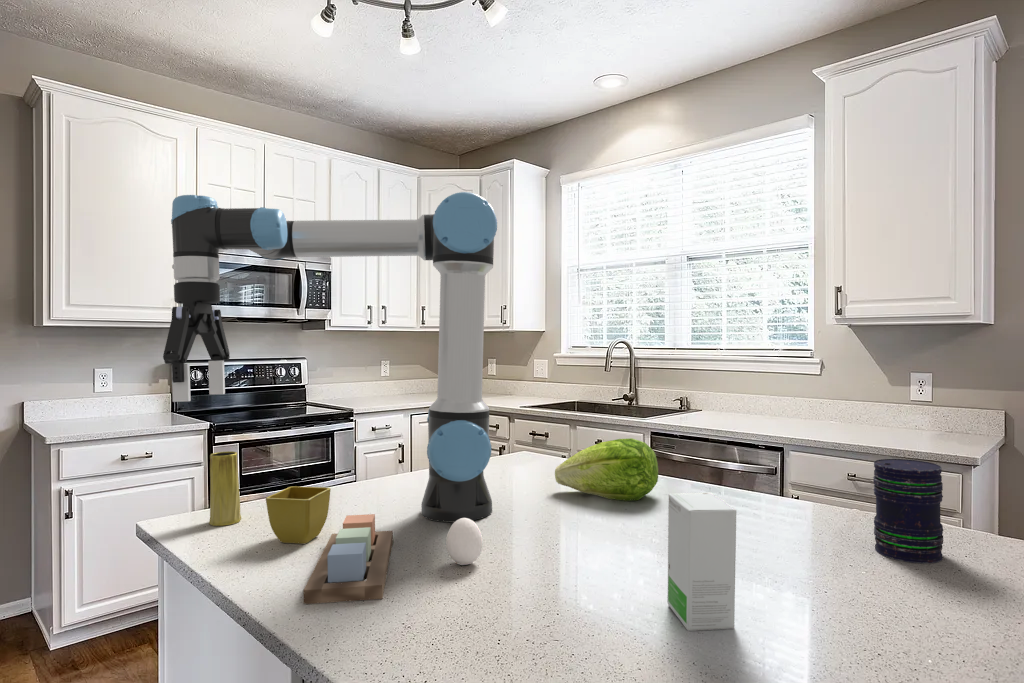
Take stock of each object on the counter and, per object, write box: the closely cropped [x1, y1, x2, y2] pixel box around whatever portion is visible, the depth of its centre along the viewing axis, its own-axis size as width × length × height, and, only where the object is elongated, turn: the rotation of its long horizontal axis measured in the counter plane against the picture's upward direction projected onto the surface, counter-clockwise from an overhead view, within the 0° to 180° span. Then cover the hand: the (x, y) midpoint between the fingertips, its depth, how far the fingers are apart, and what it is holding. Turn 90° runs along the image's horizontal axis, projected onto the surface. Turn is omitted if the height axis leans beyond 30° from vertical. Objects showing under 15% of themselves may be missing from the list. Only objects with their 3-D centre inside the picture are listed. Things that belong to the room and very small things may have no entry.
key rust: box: [342, 513, 376, 545], centre depth 111 cm, size 5×5×4 cm
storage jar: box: [872, 458, 944, 565], centre depth 106 cm, size 10×10×15 cm
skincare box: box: [666, 491, 737, 632], centre depth 83 cm, size 8×7×16 cm
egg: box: [445, 518, 484, 566], centre depth 104 cm, size 6×6×8 cm
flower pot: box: [265, 485, 331, 545], centre depth 118 cm, size 9×9×9 cm
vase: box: [208, 450, 242, 527], centre depth 131 cm, size 6×6×14 cm
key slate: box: [327, 543, 366, 583], centre depth 95 cm, size 5×5×4 cm
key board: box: [302, 530, 394, 605], centre depth 103 cm, size 11×26×2 cm, turn 7°
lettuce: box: [554, 438, 659, 502], centre depth 147 cm, size 14×24×15 cm
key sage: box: [336, 527, 371, 562], centre depth 103 cm, size 5×5×4 cm
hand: (200, 397), depth 116 cm, fingers open, 13 cm apart
